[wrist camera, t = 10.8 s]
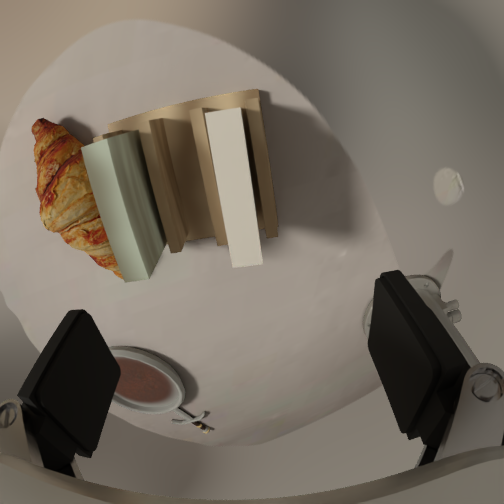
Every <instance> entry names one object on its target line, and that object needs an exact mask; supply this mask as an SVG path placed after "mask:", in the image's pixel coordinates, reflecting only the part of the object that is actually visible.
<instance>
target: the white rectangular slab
mask: <svg viewBox="0 0 504 504" xmlns="http://www.w3.org/2000/svg"><path fill="white" fill-rule="evenodd" d="M205 118H206V124H207V129H208V135H209V141H210V147H211V153H212V158H213V164H214V170H215V175H216V181H217V187H218V192H219V198H220V203H221V208H222V214H223V219H224V224H225V230H226V235H227V240H228V246H229V251H230V256H231V261H232V266H233V268H236V267H244V266H251V265H259V264H263V260H262V252H261V244H260V236H259V228H258V220H257V212H256V205H255V198H254V191H253V184H252V177H251V170H250V163H249V156H248V150H247V143H246V136H245V129H244V122H243V116H242V109H241V107H239V108H232V109H226V110H220V111H214V112H208V113H205Z"/></svg>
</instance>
